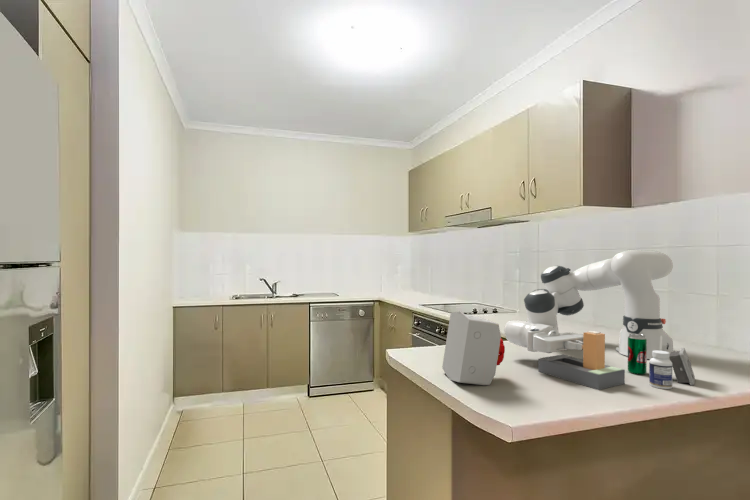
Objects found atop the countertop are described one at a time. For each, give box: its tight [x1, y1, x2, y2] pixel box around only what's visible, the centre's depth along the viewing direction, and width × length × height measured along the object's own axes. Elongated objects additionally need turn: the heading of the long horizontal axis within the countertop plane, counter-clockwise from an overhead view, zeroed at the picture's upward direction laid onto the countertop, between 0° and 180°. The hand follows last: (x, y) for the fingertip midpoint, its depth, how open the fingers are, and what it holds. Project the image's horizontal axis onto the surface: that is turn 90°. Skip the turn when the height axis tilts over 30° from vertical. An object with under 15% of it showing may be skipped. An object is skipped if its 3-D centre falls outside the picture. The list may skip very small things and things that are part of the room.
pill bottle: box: [648, 350, 673, 390], centre depth 118 cm, size 5×5×10 cm
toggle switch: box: [537, 354, 626, 391], centre depth 126 cm, size 12×20×4 cm, turn 29°
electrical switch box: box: [441, 310, 506, 386], centre depth 123 cm, size 15×15×20 cm
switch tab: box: [582, 330, 606, 370], centre depth 122 cm, size 4×4×13 cm
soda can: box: [627, 334, 648, 376], centre depth 131 cm, size 5×5×12 cm
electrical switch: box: [669, 347, 696, 386], centre depth 124 cm, size 9×5×9 cm, turn 141°
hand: (584, 347), depth 124 cm, fingers closed
